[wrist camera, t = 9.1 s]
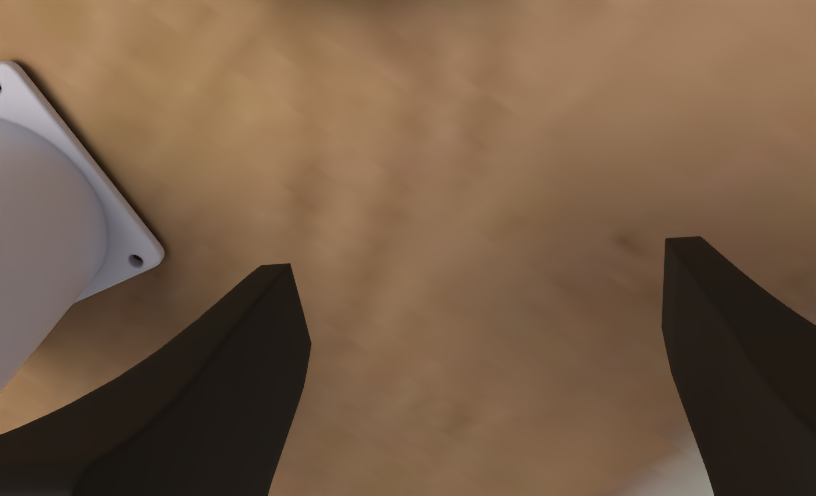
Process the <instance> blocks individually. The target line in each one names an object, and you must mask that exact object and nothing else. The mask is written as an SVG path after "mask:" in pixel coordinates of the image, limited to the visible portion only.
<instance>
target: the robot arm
mask: <svg viewBox="0 0 816 496" xmlns="http://www.w3.org/2000/svg"><path fill="white" fill-rule="evenodd" d="M0 85H1V90H0V393H1V392H2V390H3V389H4V388H5V387H6V385H7V384H8V383H9V382H10V380H11V379H12V378H13V377H14V376H15V374H16V373H17V372H18V371H19V369H20V368H21V367H22V366H23V364H24V363H25V362H26V361H27V360H28V358H29V357H30V356H31V355H32V353H33V352H34V351H35V350H36V348H37V347H38V346H39V345H40V344H41V342H42V341H43V340H44V339H45V337H46V336H47V335H48V334H49V332H50V331H51V330H52V329H53V328H54V326H55V325H56V324H57V323H58V321H59V320H60V319H61V318H62V316H63V315H64V314H65V313H66V312H67V310H68V309H69V308H70V307H71V305H72V304H73V303H76V302H78V301H80V300H82V299H85V298H87V297H89V296H91V295H93V294H96V293H98V292H100V291H102V290H105V289H107V288H109V287H111V286H114V285H116V284H118V283H120V282H122V281H125V280H127V279H129V278H131V277H134V276H136V275H138V274H140V273H142V272H145V271H147V270H149V269H151V268H154V267H156V266H157V265H159V264H160V262H161V261H162V260H163V258H164V255H165V254H164V249H163V247H162V246H161V244H160V243H159V242H158V240H157V239H156V238H155V237H154V235H153V234H152V233H151V232H150V230H149V229H148V228H147V226H146V225H145V224H144V223H143V221H142V220H141V219H140V218H139V216H138V215H137V214H136V212H135V211H134V210H133V209H132V207H131V206H130V205H129V204H128V202H127V201H126V200H125V199H124V197H123V196H122V195H121V193H120V192H119V191H118V190H117V188H116V187H115V186H114V185H113V183H112V182H111V181H110V179H109V178H108V177H107V176H106V174H105V173H104V172H103V171H102V169H101V168H100V167H99V166H98V164H97V163H96V162H95V160H94V159H93V158H92V157H91V155H90V154H89V153H88V152H87V150H86V149H85V148H84V146H83V145H82V144H81V143H80V141H79V140H78V139H77V138H76V136H75V135H74V134H73V132H72V131H71V130H70V129H69V127H68V126H67V125H66V124H65V122H64V121H63V120H62V119H61V117H60V116H59V115H58V113H57V112H56V111H55V110H54V108H53V107H52V106H51V105H50V103H49V102H48V101H47V99H46V98H45V97H44V96H43V94H42V93H41V92H40V91H39V89H38V88H37V87H36V86H35V84H34V83H33V82H32V80H31V79H30V78H29V77H28V75H27V74H26V73H25V72H24V70H23V69H22V68H21V67H20V66H19V65H18V64H17V63H15V62H13V61H10V60H2V61H0ZM133 255H137V256H139V257H140V258H142V260H143V261H138V260H137V259H135V258H134V256H133ZM662 331H663V336H664V341H665V346H666V351H667V355H668V360H669V364H670V369H671V373H672V376H673V379H674V382H675V385H676V387H677V390H678V393H679V396H680V399H681V401H682V404H683V407H684V410H685V412H686V415H687V418H688V421H689V423H690V426H691V429H692V432H693V434H694V437H695V440H696V443H697V445H698V448H699V451H700V454H701V456H702V459H703V462H704V464H705V467H706V470H707V473H708V476H709V480H710V483H711V486H712V489H713V492H714V496H816V325H814V324H813V323H811V322H809V321H808V320H806V319H805V318H803V317H802V316H800V315H799V314H797V313H796V312H795V311H793V310H792V309H790V308H789V307H787V306H786V305H784V304H783V303H781V302H780V301H779V300H777V299H776V298H775V297H773V296H772V295H771V294H769V293H768V292H767V291H765V290H764V289H763V288H761V287H760V286H759V285H758V284H756V283H755V282H754V281H753V280H751V279H750V278H749V277H748V276H746V275H745V274H744V273H743V272H741V271H740V270H739V269H738V268H737V267H735V266H734V265H733V264H732V263H731V262H730V261H728V260H727V259H726V258H725V257H724V256H723V255H721V254H720V253H719V252H718V251H717V250H716V249H715V248H713V247H712V246H711V245H710V244H709V243H708V242H706V241H705V240H704V239H703V238H702V237H700V236H696V237H681V238H666V239H665V260H664V284H663V307H662ZM310 350H311V340H310V336H309V332H308V329H307V325H306V321H305V317H304V313H303V310H302V306H301V302H300V298H299V295H298V291H297V287H296V283H295V279H294V276H293V272H292V268H291V264H290V263H288V264H273V265H261V266H260V267H258V268H257V269H256V270H254V271H253V272H252V273H251V274H249V275H248V276H247V277H246V278H245V279H243V280H242V281H241V282H240V283H239V284H238V285H236V286H235V287H234V288H233V289H232V290H231V291H230V292H228V293H227V294H226V295H225V296H224V297H223V298H222V299H220V300H219V301H218V302H217V303H216V304H215V305H213V306H212V307H211V308H210V309H209V310H208V311H207V312H205V313H204V314H203V315H202V316H201V317H200V318H198V319H197V320H196V321H195V322H193V323H192V324H191V325H190V326H188V327H187V328H186V329H185V330H183V331H182V332H181V333H179V334H178V335H177V336H176V337H174V338H173V339H172V340H171V341H169V342H168V343H167V344H165V345H164V346H163V347H162V348H160V349H159V350H157V351H156V352H155V353H153V354H152V355H150V356H149V357H148V358H146V359H145V360H143V361H142V362H140V363H139V364H137V365H136V366H134V367H133V368H131V369H130V370H128V371H126V372H125V373H123V374H122V375H120V376H119V377H117V378H115V379H114V380H112V381H110V382H108V383H107V384H105V385H103V386H101V387H99V388H98V389H96V390H94V391H92V392H90V393H89V394H87V395H85V396H83V397H81V398H80V399H78V400H76V401H74V402H72V403H70V404H68V405H66V406H64V407H62V408H60V409H58V410H56V411H54V412H52V413H50V414H48V415H46V416H43V417H41V418H39V419H37V420H34V421H32V422H30V423H28V424H25V425H23V426H21V427H19V428H16V429H14V430H11V431H9V432H6V433H4V434H1V435H0V496H268V493H269V489H270V486H271V483H272V479H273V476H274V473H275V470H276V467H277V465H278V462H279V459H280V456H281V453H282V450H283V447H284V444H285V441H286V438H287V435H288V433H289V430H290V427H291V424H292V421H293V418H294V415H295V412H296V409H297V406H298V403H299V400H300V397H301V394H302V391H303V388H304V383H305V378H306V373H307V368H308V362H309V356H310Z"/></svg>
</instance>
